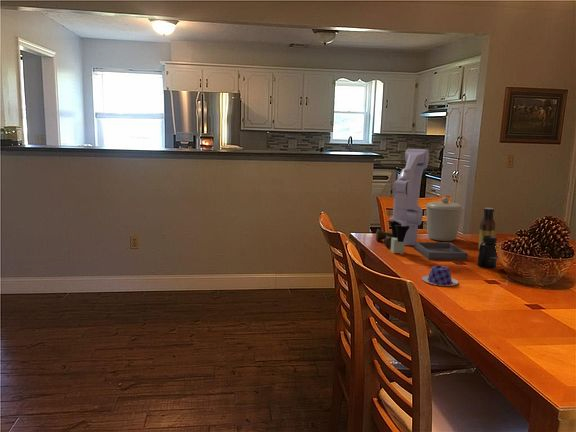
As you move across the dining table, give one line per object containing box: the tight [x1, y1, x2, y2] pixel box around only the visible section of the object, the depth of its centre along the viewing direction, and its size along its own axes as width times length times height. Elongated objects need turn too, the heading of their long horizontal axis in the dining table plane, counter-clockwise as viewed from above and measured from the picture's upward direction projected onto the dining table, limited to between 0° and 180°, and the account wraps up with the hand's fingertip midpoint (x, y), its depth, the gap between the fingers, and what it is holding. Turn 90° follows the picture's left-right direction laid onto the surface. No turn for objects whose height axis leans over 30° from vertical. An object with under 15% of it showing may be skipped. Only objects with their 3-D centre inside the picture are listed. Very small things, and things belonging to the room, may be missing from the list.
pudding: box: [421, 265, 459, 287], centre depth 158 cm, size 12×12×5 cm
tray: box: [414, 241, 468, 261], centre depth 195 cm, size 18×16×3 cm
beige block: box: [390, 238, 405, 255], centre depth 196 cm, size 4×4×6 cm
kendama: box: [375, 228, 393, 249], centre depth 212 cm, size 6×10×20 cm
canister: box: [424, 196, 465, 242], centre depth 222 cm, size 18×18×21 cm
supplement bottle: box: [477, 236, 499, 270], centre depth 177 cm, size 7×7×12 cm
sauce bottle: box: [477, 207, 496, 249], centre depth 198 cm, size 6×6×20 cm
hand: (397, 239), depth 195 cm, fingers open, 7 cm apart
